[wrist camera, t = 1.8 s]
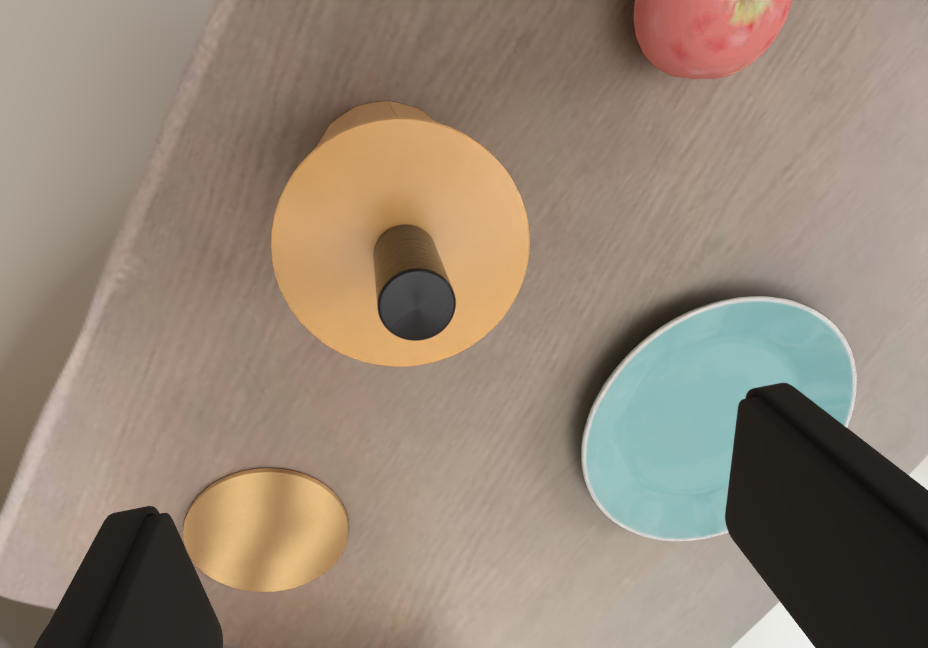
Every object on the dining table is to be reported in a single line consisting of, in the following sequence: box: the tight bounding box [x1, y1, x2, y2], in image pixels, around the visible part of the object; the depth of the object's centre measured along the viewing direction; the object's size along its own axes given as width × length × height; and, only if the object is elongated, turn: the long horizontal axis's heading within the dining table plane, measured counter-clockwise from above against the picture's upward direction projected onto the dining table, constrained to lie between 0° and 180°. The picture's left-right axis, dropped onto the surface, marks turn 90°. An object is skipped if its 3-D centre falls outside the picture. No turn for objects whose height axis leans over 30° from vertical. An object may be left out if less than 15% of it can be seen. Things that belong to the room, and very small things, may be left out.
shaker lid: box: [271, 117, 530, 367], centre depth 20 cm, size 10×10×6 cm
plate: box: [581, 296, 857, 541], centre depth 45 cm, size 22×22×3 cm
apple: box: [634, 0, 792, 79], centre depth 29 cm, size 7×7×8 cm
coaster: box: [183, 468, 349, 592], centre depth 44 cm, size 12×12×1 cm
